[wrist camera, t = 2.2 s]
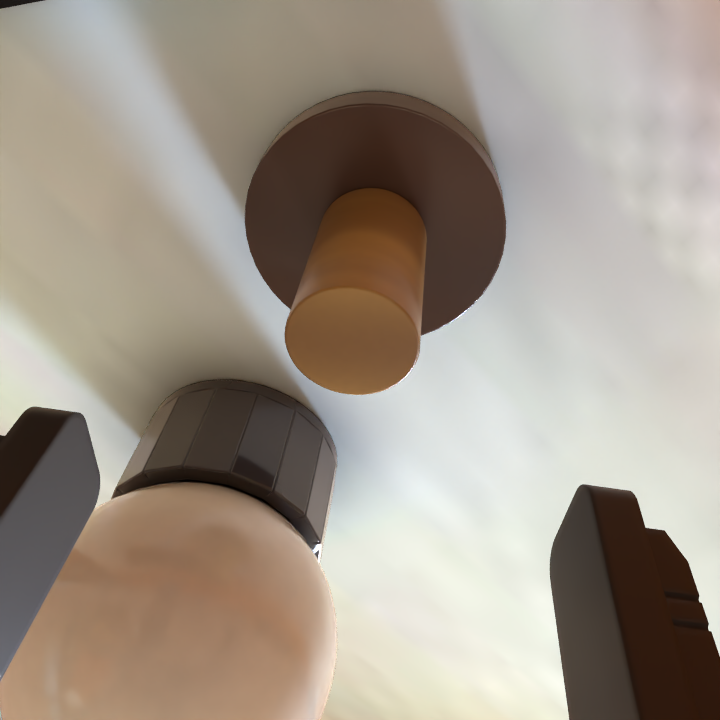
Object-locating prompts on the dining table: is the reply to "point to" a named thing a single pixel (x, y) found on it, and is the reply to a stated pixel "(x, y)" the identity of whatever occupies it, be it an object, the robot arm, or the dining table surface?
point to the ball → (180, 616)
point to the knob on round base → (373, 233)
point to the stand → (241, 450)
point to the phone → (15, 2)
